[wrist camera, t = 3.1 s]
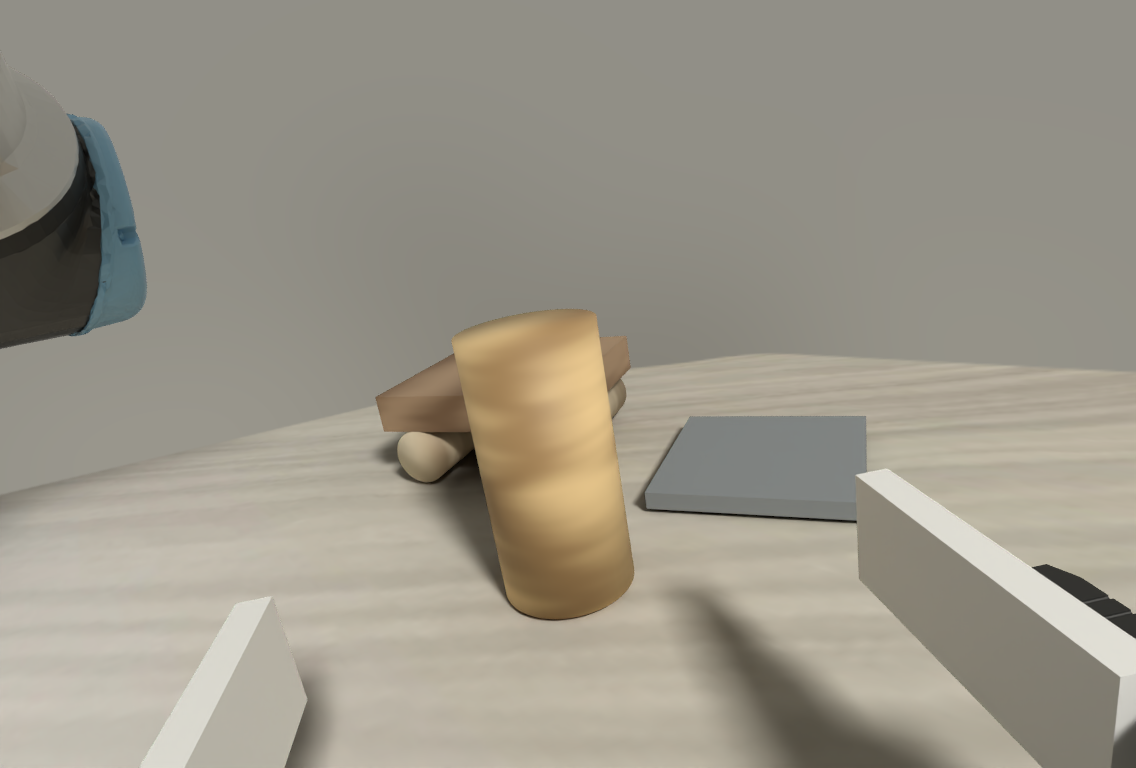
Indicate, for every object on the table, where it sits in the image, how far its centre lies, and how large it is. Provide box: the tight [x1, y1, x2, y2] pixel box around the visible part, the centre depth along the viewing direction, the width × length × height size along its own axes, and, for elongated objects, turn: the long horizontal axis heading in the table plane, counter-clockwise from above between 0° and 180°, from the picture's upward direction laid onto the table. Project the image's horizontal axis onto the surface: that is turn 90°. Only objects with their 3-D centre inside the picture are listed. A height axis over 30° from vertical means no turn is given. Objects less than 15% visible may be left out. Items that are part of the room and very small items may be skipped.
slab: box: [376, 336, 631, 482], centre depth 39 cm, size 11×10×5 cm
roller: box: [452, 309, 634, 619], centre depth 24 cm, size 5×5×10 cm
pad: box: [645, 416, 866, 521], centre depth 32 cm, size 9×9×1 cm
